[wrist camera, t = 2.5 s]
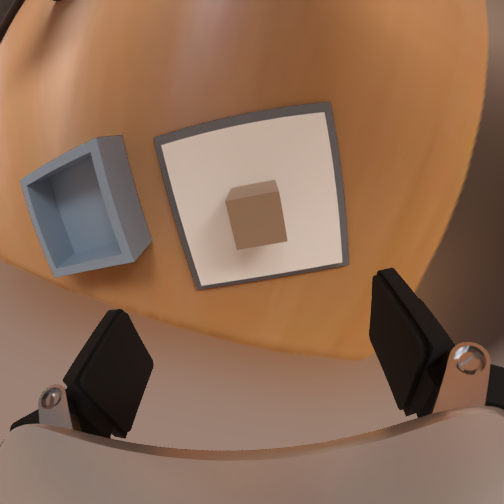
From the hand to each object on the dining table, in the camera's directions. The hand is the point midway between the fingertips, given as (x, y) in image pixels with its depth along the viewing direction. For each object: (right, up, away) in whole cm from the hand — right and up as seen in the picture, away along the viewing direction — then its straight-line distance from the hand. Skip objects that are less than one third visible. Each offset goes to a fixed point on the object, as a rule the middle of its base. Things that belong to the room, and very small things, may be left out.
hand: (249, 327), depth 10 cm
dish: (-18, +8, +17) cm, 26 cm away
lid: (+1, +7, +16) cm, 18 cm away
